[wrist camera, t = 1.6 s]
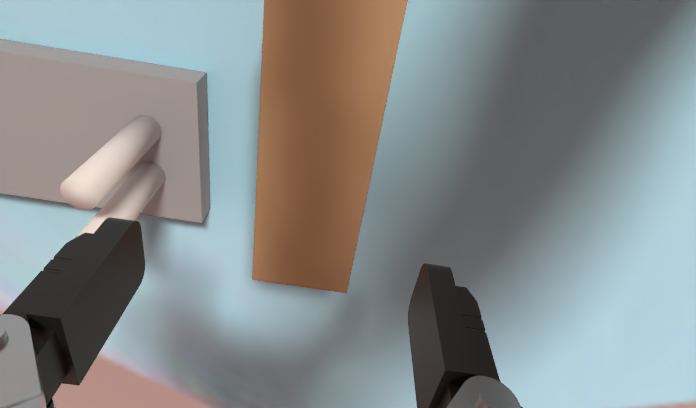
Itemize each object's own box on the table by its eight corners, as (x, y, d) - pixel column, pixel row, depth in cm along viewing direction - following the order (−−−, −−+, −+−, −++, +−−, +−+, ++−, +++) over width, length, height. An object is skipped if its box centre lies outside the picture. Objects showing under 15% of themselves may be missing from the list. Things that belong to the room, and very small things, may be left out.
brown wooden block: (398, -24, 19) (407, 0, 14) (351, 219, 26) (346, 293, 21) (293, -43, 19) (265, -25, 14) (275, 208, 26) (252, 279, 21)
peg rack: (206, 72, 22) (139, 139, 15) (210, 207, 26) (158, 302, 20) (-137, 17, 21) (-354, 64, 15) (-73, 165, 25) (-219, 250, 19)
